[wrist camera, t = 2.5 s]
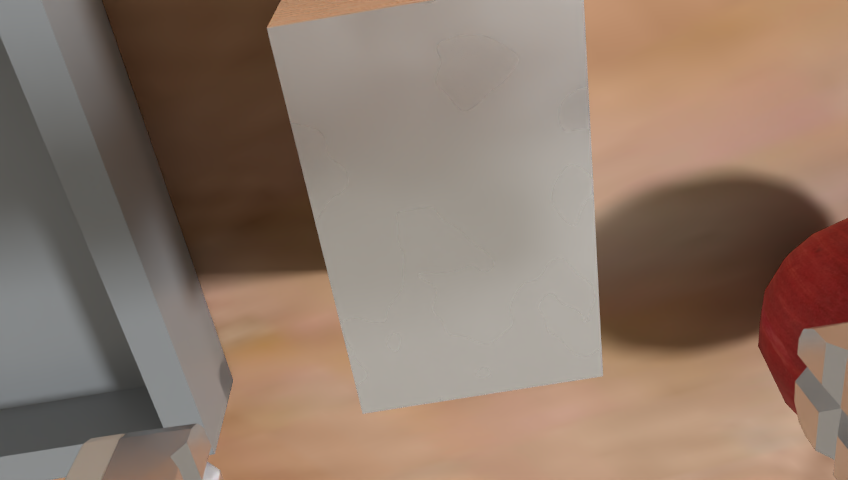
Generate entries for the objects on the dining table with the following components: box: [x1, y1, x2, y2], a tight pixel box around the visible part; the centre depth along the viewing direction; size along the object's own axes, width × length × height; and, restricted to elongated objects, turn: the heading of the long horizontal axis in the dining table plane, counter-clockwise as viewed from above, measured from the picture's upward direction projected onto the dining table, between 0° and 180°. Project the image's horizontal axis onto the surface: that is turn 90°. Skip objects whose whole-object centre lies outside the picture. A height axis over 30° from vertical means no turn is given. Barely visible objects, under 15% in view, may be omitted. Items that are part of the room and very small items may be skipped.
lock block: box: [267, 0, 603, 414], centre depth 17 cm, size 8×5×6 cm, turn 9°
